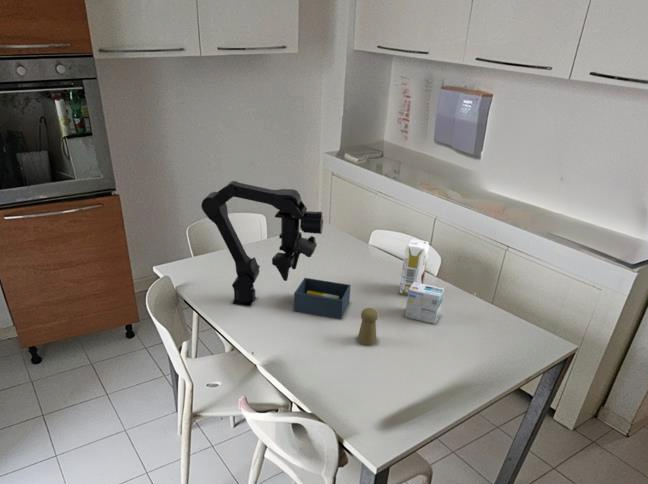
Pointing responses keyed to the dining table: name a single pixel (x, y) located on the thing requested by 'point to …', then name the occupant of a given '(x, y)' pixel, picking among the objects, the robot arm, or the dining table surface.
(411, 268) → the juice carton
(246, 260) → the robot arm
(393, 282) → the dining table surface
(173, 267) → the dining table surface
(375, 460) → the dining table surface
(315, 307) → the dark blue open bin
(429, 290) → the light bulb box
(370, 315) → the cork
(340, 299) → the medication box
